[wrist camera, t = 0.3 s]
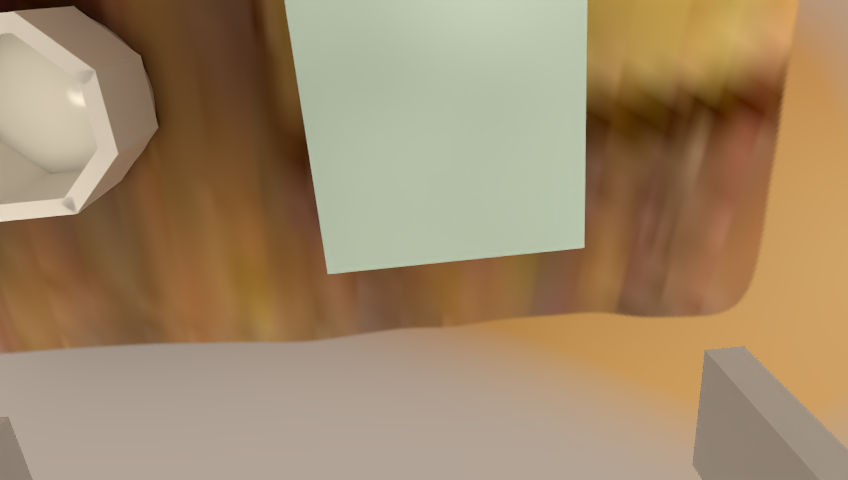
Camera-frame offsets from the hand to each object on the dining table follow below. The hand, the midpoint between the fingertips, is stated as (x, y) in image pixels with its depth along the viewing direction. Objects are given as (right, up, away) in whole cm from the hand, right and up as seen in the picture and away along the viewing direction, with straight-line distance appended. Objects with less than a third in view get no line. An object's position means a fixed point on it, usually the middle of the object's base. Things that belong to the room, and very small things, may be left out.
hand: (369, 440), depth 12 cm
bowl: (-18, +11, +21) cm, 29 cm away
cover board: (+2, +11, +16) cm, 19 cm away
